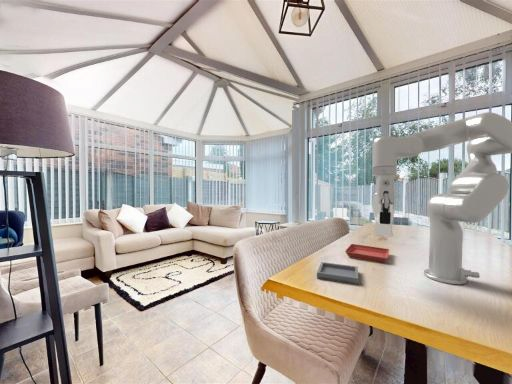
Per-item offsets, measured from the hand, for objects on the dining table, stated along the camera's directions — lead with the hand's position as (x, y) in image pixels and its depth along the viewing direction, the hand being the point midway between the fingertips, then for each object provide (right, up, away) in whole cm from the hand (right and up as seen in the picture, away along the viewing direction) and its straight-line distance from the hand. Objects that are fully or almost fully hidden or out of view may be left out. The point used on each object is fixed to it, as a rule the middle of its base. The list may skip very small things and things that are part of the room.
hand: (383, 221), depth 82 cm
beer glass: (0, -5, 0) cm, 5 cm away
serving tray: (-14, -21, +6) cm, 26 cm away
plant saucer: (+9, -21, +31) cm, 39 cm away
